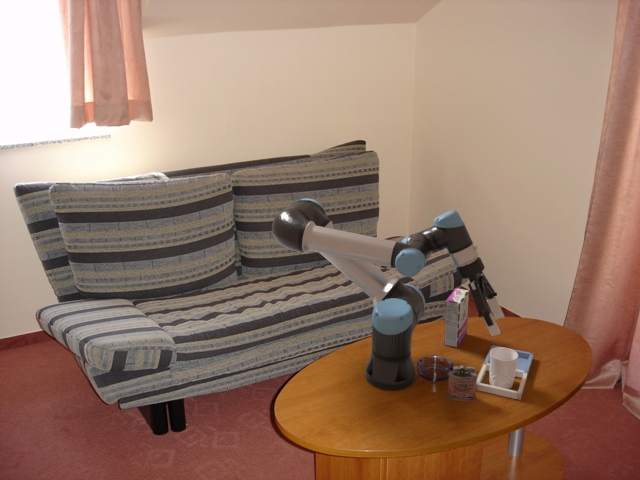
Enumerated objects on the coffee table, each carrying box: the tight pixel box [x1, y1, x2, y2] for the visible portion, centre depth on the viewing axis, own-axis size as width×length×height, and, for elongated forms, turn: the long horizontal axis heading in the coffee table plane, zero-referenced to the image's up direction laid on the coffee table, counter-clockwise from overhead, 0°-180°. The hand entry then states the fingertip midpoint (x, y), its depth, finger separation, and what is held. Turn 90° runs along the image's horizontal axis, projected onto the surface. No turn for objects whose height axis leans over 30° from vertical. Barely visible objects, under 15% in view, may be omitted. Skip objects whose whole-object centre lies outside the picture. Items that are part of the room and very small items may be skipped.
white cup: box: [488, 346, 518, 390], centre depth 189 cm, size 8×8×10 cm
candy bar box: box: [443, 287, 470, 348], centre depth 213 cm, size 11×5×16 cm, turn 153°
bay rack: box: [476, 344, 535, 401], centre depth 195 cm, size 13×25×2 cm, turn 155°
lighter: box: [446, 364, 479, 402], centre depth 182 cm, size 8×3×10 cm, turn 82°
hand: (498, 326), depth 189 cm, fingers open, 13 cm apart
